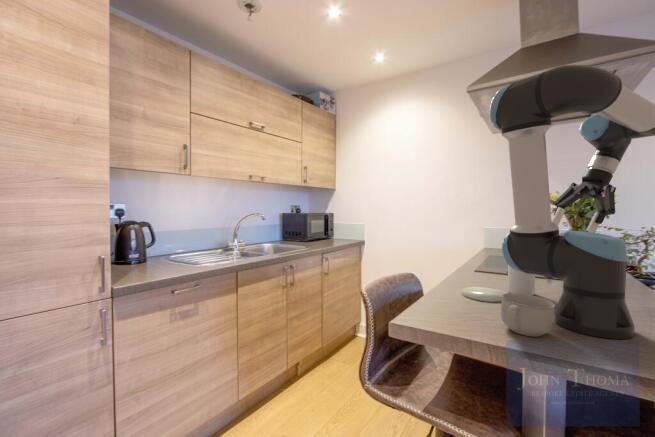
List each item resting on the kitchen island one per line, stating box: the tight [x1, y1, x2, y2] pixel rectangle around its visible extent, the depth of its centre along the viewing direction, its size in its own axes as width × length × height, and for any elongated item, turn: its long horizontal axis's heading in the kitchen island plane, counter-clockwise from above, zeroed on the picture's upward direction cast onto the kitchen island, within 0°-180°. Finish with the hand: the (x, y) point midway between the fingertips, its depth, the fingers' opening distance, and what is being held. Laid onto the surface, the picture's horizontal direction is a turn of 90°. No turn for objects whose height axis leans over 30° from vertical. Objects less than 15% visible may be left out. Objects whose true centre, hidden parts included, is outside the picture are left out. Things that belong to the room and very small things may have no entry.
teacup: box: [500, 292, 557, 338], centre depth 73 cm, size 14×11×8 cm
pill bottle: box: [507, 264, 536, 296], centre depth 107 cm, size 8×8×15 cm
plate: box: [461, 286, 507, 303], centre depth 104 cm, size 14×14×1 cm
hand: (570, 228), depth 107 cm, fingers open, 13 cm apart
